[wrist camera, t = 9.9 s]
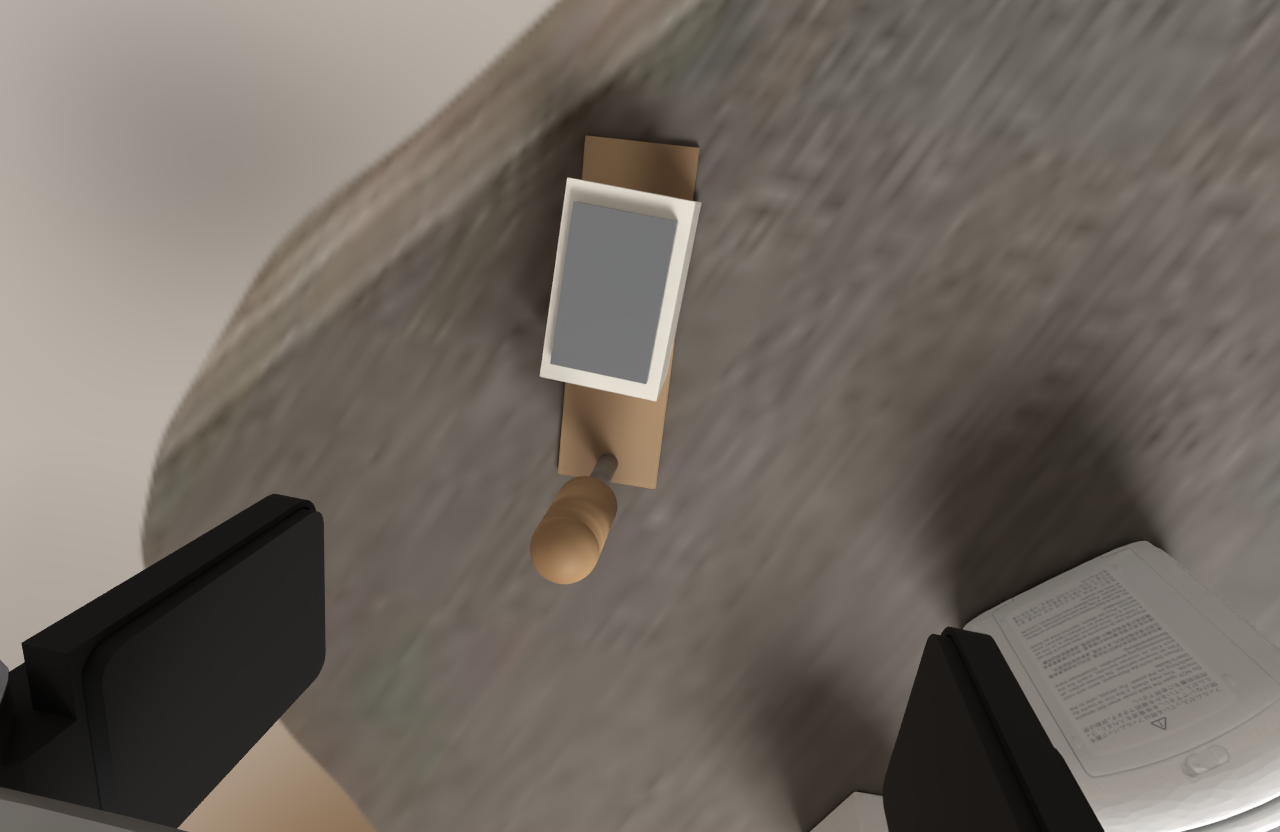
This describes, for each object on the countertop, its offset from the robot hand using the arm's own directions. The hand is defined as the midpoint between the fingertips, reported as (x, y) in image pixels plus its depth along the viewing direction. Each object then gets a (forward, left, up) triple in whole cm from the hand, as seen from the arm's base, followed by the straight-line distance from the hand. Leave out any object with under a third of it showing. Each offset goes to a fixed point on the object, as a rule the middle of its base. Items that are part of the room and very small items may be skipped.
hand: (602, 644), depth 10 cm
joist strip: (+3, -1, -23) cm, 23 cm away
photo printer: (-20, +10, -23) cm, 32 cm away
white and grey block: (+3, -3, -23) cm, 23 cm away
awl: (+3, +6, -23) cm, 24 cm away
